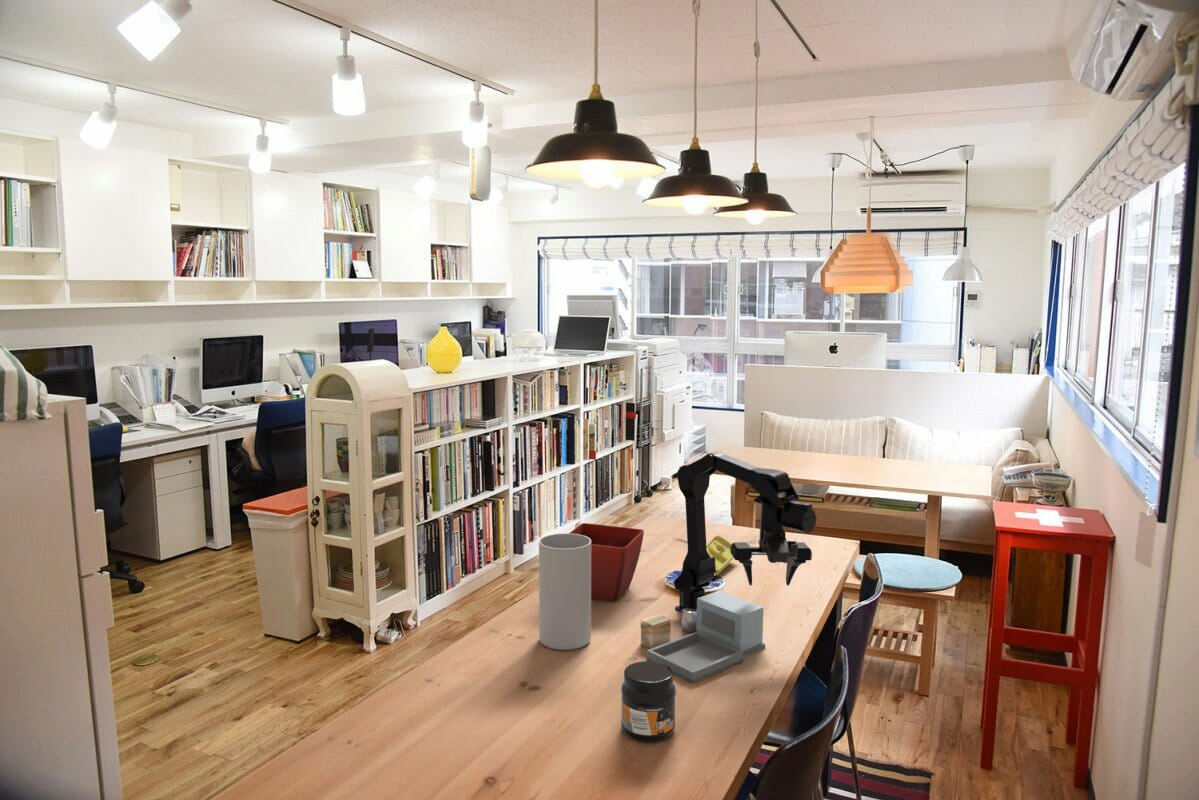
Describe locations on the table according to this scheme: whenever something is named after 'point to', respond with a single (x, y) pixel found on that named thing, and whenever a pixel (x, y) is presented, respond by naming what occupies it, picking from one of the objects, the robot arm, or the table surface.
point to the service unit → (731, 621)
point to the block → (655, 631)
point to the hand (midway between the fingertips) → (768, 585)
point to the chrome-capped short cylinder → (689, 620)
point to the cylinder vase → (565, 591)
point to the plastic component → (720, 552)
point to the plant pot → (611, 558)
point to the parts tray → (695, 656)
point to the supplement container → (648, 701)
